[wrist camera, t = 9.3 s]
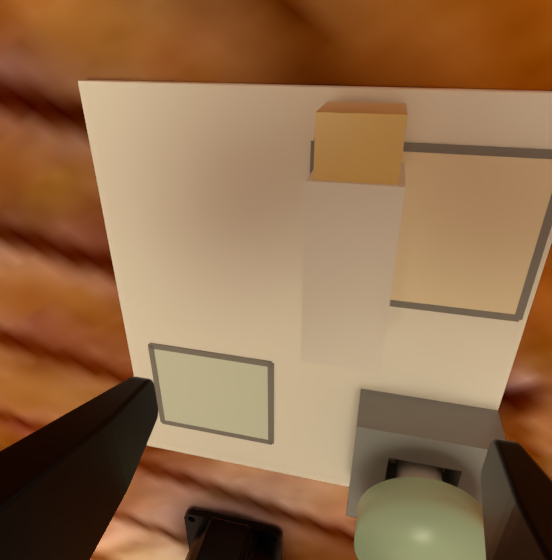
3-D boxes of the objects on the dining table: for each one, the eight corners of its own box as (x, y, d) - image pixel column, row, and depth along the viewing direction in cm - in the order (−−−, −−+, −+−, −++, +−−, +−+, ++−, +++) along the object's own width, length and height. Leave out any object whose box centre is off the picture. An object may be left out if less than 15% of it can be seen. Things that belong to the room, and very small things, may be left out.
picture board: (464, 500, 24) (466, 512, 23) (152, 437, 27) (146, 446, 27) (591, 91, 14) (600, 94, 14) (86, 79, 18) (76, 81, 17)
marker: (382, 328, 19) (380, 372, 17) (313, 319, 20) (300, 360, 17) (412, 102, 15) (415, 115, 12) (322, 100, 16) (307, 112, 13)
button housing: (468, 488, 23) (476, 544, 21) (351, 465, 24) (345, 515, 22) (495, 401, 20) (509, 453, 18) (361, 380, 22) (356, 426, 19)
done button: (465, 509, 22) (480, 610, 18) (357, 487, 23) (348, 578, 19) (490, 432, 19) (513, 530, 15) (367, 411, 20) (359, 499, 16)
